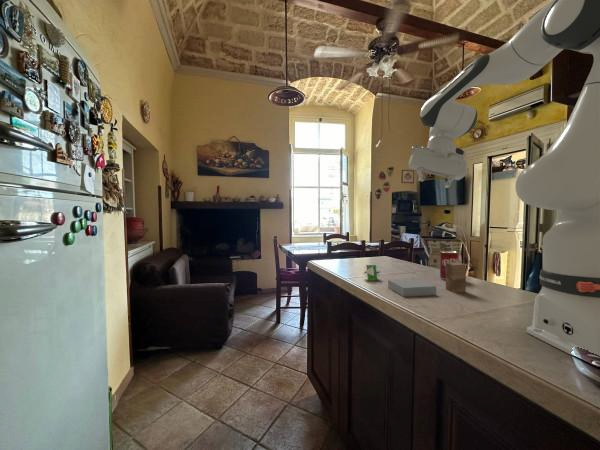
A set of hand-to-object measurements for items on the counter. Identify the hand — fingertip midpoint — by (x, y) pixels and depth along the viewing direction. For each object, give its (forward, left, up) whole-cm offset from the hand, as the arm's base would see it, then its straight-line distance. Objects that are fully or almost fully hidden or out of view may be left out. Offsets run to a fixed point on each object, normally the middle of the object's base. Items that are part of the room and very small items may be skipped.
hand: (434, 183), depth 93 cm
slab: (-1, +9, -39) cm, 40 cm away
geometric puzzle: (+16, +22, -40) cm, 48 cm away
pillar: (+2, -7, -39) cm, 40 cm away
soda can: (+21, -11, -40) cm, 46 cm away
